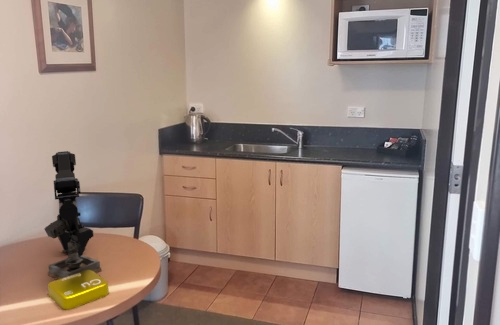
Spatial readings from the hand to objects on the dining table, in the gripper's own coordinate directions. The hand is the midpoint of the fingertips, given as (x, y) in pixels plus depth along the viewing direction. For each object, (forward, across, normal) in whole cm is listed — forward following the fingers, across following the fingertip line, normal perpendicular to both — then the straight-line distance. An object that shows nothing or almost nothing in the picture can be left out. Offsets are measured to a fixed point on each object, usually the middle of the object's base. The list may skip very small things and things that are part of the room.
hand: (73, 252), depth 158 cm
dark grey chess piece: (+7, 0, 0) cm, 7 cm away
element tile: (+8, +15, -8) cm, 19 cm away
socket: (+8, 0, 0) cm, 8 cm away
